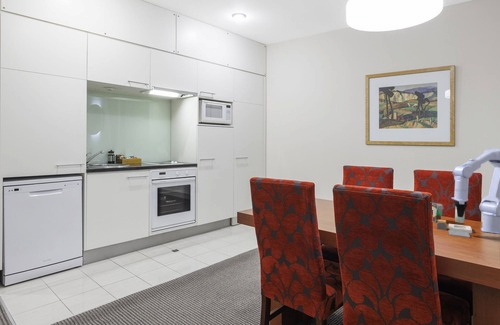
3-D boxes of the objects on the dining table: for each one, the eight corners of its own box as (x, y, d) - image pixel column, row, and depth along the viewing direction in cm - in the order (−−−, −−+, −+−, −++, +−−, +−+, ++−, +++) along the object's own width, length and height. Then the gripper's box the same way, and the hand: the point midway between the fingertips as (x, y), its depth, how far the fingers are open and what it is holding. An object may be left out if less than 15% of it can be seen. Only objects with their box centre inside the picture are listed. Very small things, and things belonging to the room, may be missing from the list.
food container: (447, 223, 188) (448, 206, 188) (436, 223, 188) (437, 206, 188) (435, 218, 200) (436, 202, 200) (425, 218, 201) (426, 202, 200)
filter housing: (470, 228, 176) (470, 223, 176) (471, 233, 167) (472, 227, 167) (436, 224, 184) (437, 219, 184) (437, 228, 175) (437, 223, 175)
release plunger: (445, 227, 176) (445, 220, 176) (445, 229, 173) (446, 221, 173) (437, 226, 178) (438, 219, 178) (437, 228, 175) (438, 220, 175)
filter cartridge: (463, 221, 165) (464, 205, 165) (464, 223, 162) (465, 206, 161) (454, 220, 167) (455, 204, 167) (455, 222, 164) (455, 205, 163)
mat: (468, 233, 167) (468, 232, 167) (470, 237, 159) (470, 236, 159) (448, 230, 171) (448, 230, 171) (448, 234, 163) (449, 234, 163)
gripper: (451, 187, 172) (450, 212, 173) (452, 190, 159) (451, 217, 160) (467, 188, 169) (465, 214, 169) (469, 191, 156) (468, 219, 157)
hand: (459, 216), depth 165 cm, fingers closed on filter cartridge, 4 cm apart
